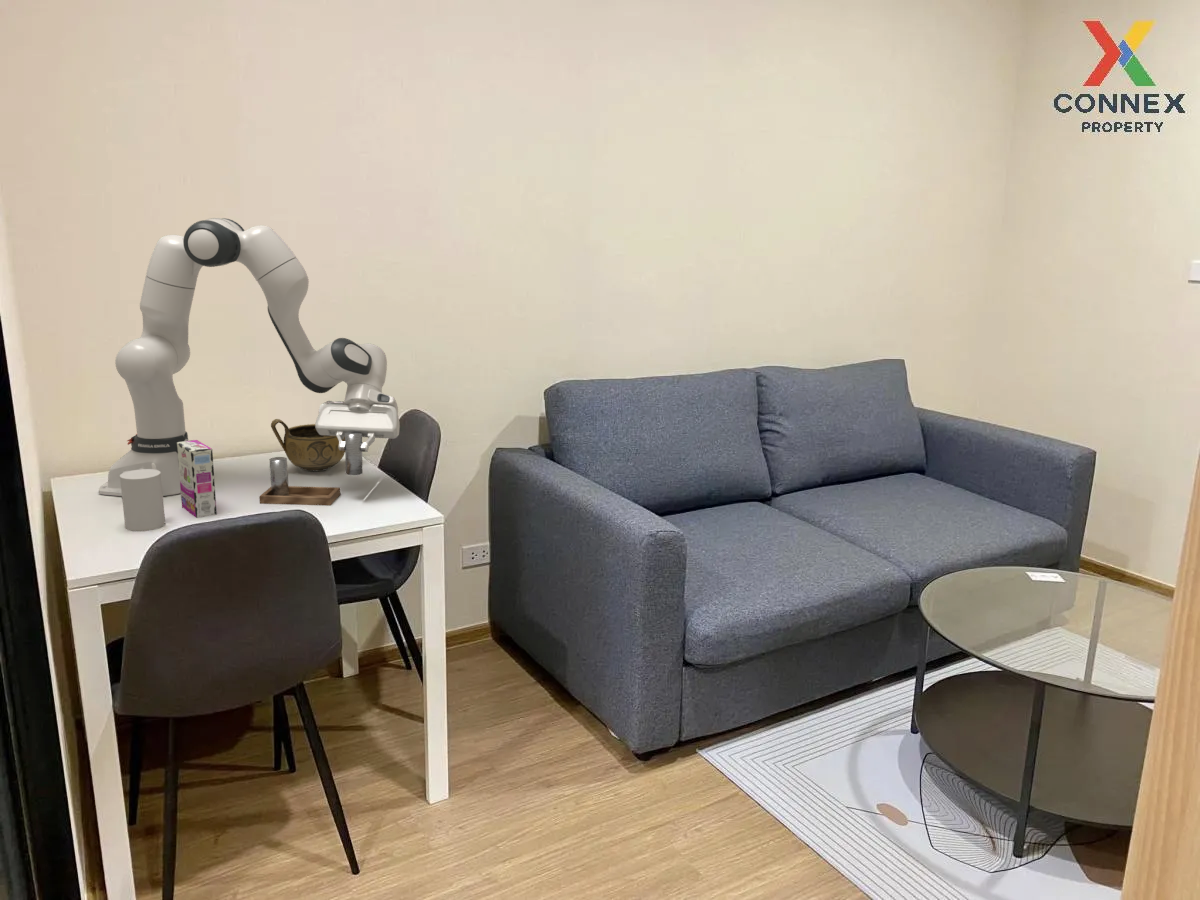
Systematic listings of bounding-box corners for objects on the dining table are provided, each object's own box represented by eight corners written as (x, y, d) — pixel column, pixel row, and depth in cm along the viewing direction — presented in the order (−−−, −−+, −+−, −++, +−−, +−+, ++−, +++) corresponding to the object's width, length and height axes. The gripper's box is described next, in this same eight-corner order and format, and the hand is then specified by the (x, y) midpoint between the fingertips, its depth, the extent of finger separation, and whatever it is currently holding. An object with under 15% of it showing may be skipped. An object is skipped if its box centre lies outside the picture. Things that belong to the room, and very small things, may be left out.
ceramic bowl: (348, 457, 271) (345, 406, 267) (365, 471, 256) (363, 418, 253) (268, 465, 259) (265, 413, 256) (282, 481, 245) (278, 425, 242)
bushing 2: (343, 474, 227) (342, 434, 225) (348, 470, 231) (347, 431, 228) (360, 475, 227) (359, 435, 225) (364, 471, 231) (363, 431, 229)
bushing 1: (269, 500, 227) (267, 460, 225) (275, 495, 231) (272, 456, 229) (285, 500, 227) (283, 461, 225) (291, 496, 231) (289, 457, 229)
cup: (171, 519, 214) (166, 469, 211) (156, 531, 206) (151, 479, 203) (135, 519, 213) (130, 468, 210) (118, 531, 205) (112, 478, 202)
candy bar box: (218, 516, 217) (213, 448, 213) (196, 520, 213) (190, 451, 209) (202, 504, 225) (197, 438, 221) (181, 508, 222) (175, 441, 218)
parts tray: (259, 505, 225) (259, 496, 224) (272, 494, 234) (272, 485, 233) (330, 507, 225) (329, 498, 224) (340, 496, 234) (340, 487, 233)
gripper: (318, 393, 231) (307, 441, 224) (400, 397, 231) (392, 445, 224) (323, 407, 237) (313, 454, 230) (404, 411, 237) (396, 458, 230)
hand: (353, 450), depth 227 cm, fingers closed on bushing 2, 4 cm apart
